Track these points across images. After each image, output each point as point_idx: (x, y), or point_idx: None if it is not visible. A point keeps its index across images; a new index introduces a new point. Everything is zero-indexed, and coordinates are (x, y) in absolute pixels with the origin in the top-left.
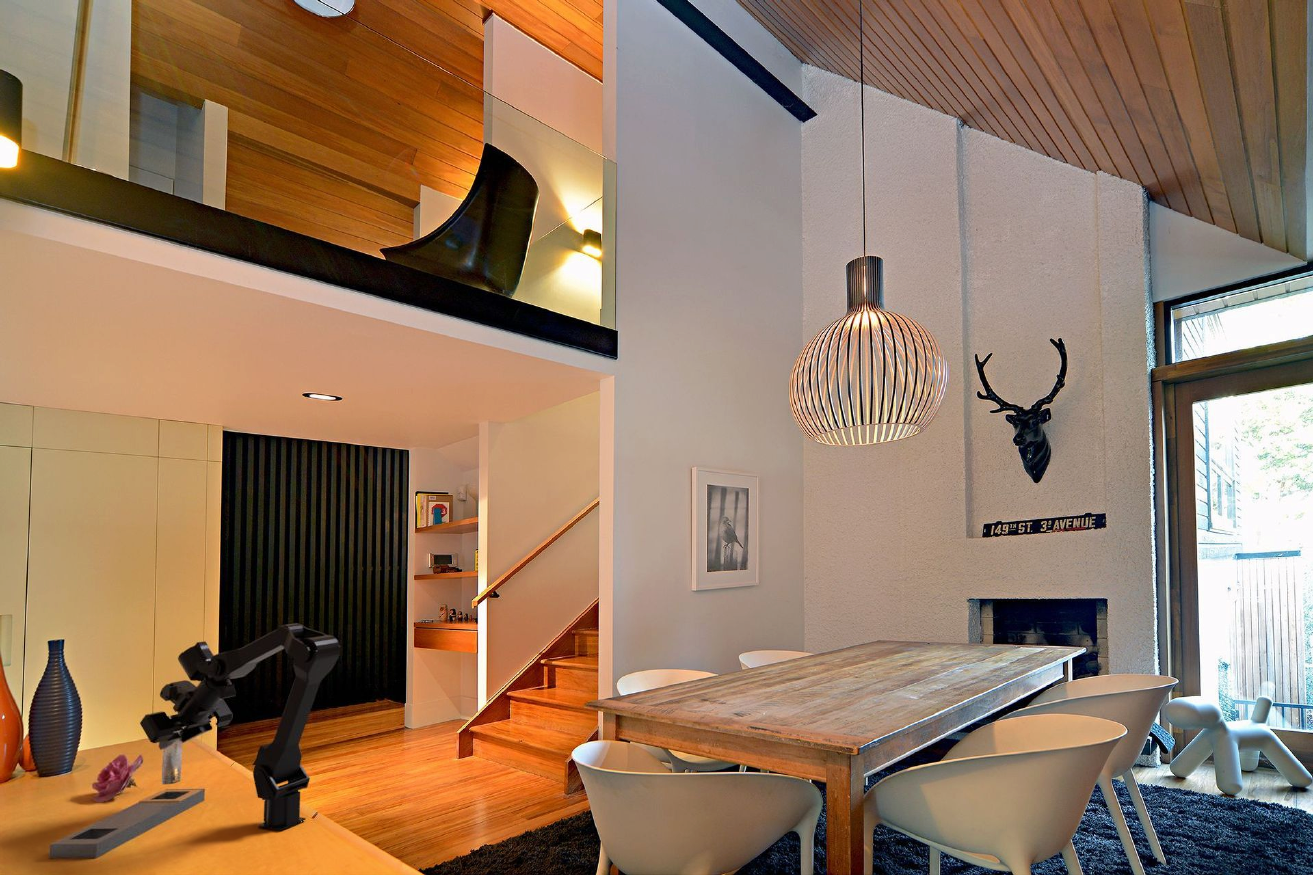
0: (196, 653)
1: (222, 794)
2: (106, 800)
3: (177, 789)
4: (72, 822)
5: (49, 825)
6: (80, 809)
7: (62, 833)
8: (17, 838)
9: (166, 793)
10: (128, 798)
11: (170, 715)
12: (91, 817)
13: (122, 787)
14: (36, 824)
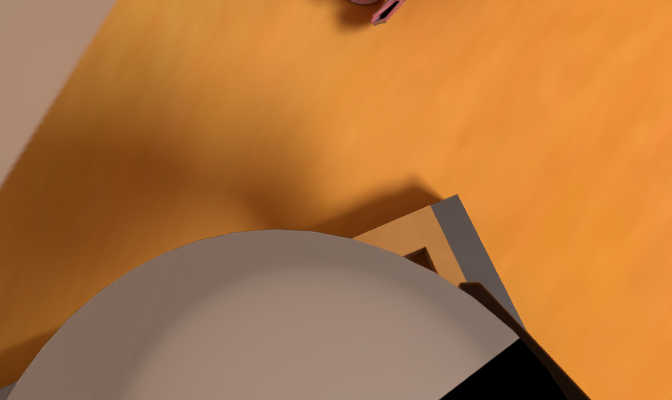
0: None
1: (641, 381)
2: (358, 2)
3: (479, 251)
4: (175, 136)
5: (139, 99)
6: (269, 21)
7: (96, 219)
8: (43, 137)
9: (425, 247)
10: (409, 40)
11: (310, 259)
12: (225, 141)
13: (375, 18)
14: (136, 54)
